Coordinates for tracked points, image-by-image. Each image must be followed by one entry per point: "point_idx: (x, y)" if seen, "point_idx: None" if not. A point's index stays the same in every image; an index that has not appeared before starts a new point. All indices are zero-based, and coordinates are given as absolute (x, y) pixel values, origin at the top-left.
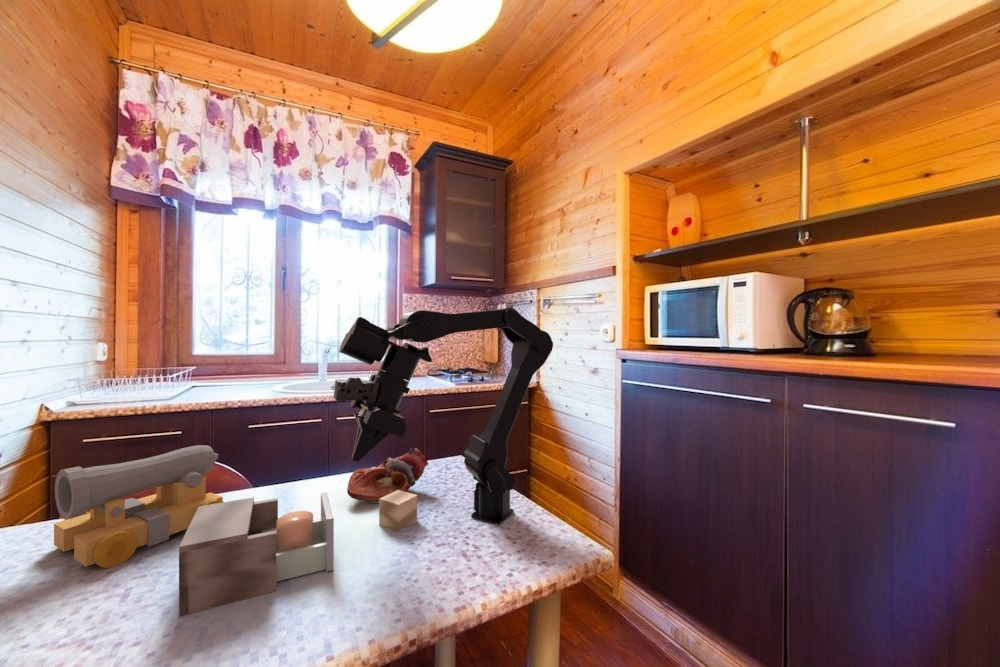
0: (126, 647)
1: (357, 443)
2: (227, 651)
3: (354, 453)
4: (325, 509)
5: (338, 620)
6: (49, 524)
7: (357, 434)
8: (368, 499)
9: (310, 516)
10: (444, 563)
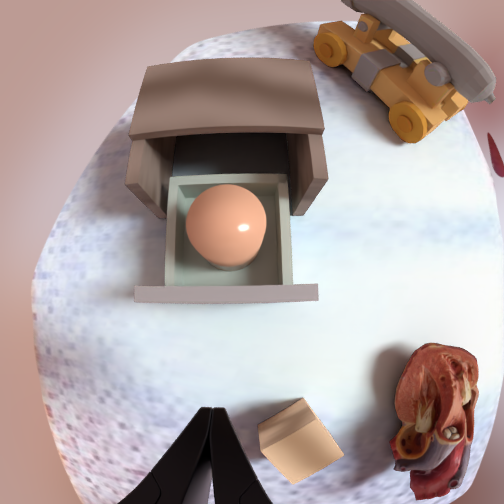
0: None
1: (163, 464)
2: (83, 182)
3: (186, 426)
4: (194, 288)
5: (68, 291)
6: None
7: (233, 501)
8: (398, 383)
9: (217, 255)
10: (128, 446)
